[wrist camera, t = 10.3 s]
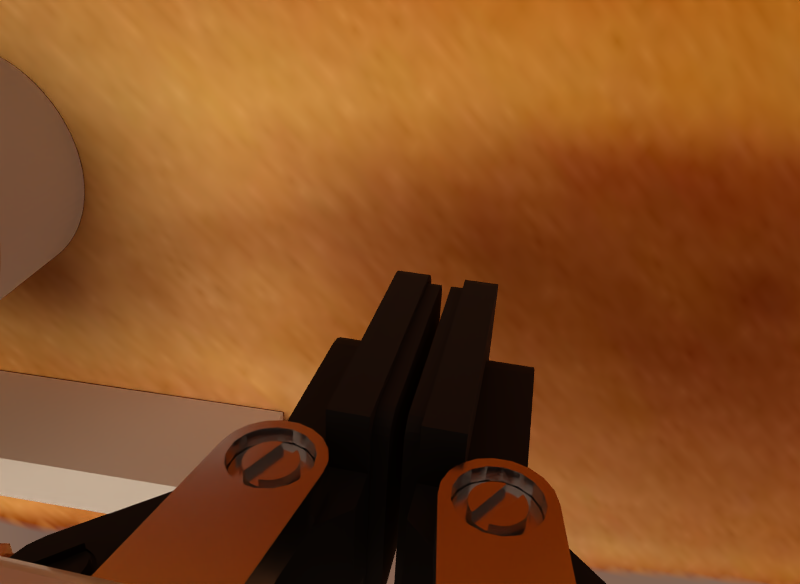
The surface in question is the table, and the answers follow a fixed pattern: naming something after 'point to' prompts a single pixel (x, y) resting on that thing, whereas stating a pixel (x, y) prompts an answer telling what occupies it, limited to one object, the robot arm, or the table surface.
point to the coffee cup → (34, 180)
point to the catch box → (104, 441)
